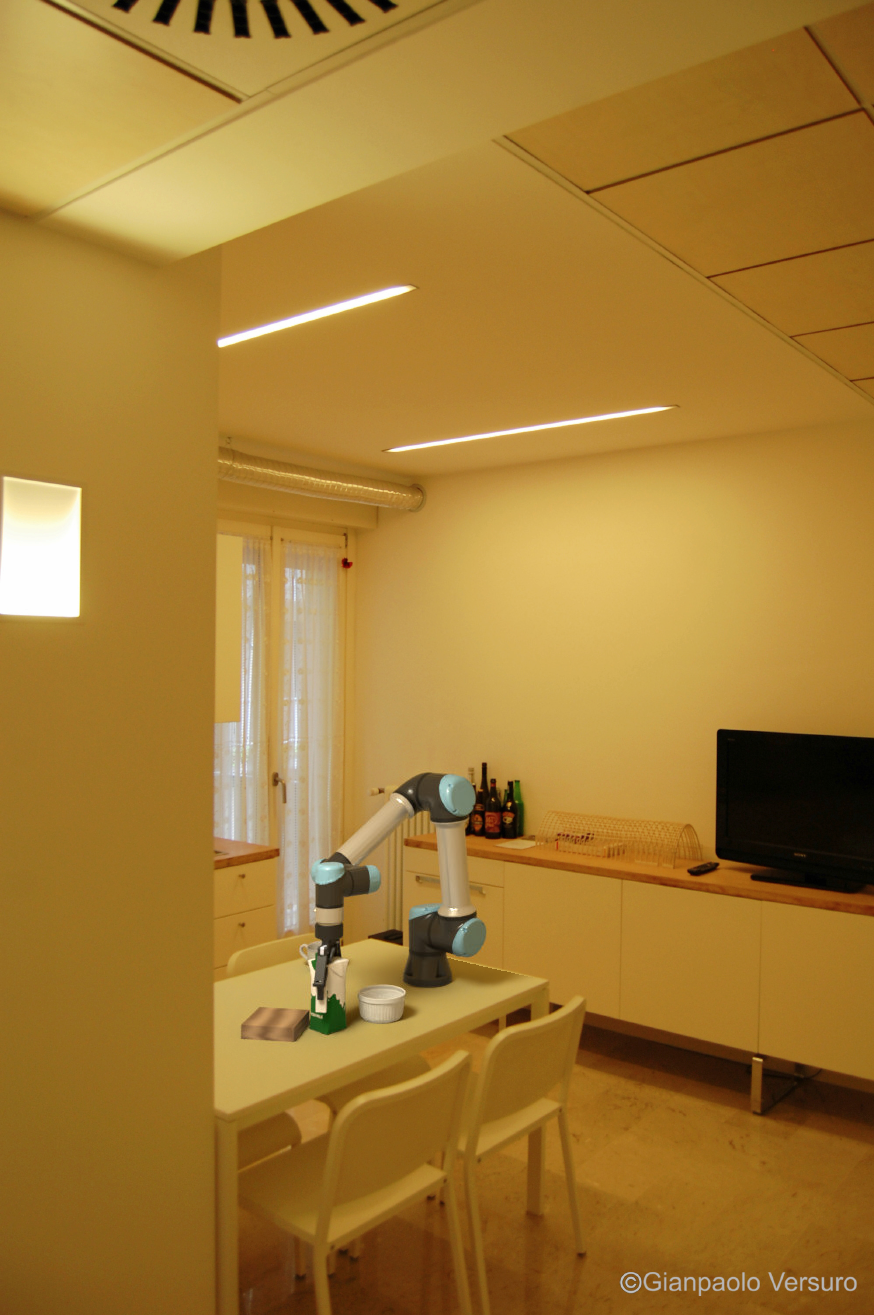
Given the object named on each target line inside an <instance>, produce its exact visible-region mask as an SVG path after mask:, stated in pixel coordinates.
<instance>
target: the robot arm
mask: <svg viewBox="0 0 874 1315" xmlns="http://www.w3.org/2000/svg"><path fill="white" fill-rule="evenodd" d="M476 801H477V800H476V790H475V788H474V786H473V785H472V783H471V781H470V780H468V778H466V777H464V776H462V775H458V774H454V773H441V772H440V773H438V772H430V771H429V772H427V771H426V772H422V773H419V774H416V775H414V776H413V777H411V778H409V779H407V780H406V781H404V783H402V784H401V785H399V786H398V787H397V788H395V790H393V792H392V793H390V795H389V796H388V801H387V802H386V803H385V804H384V805H383V806H382V807H381V808H380V809H379V810H377V811H376V813H375V814H373V815H372V816H371V817H370V819H368V820H367V821H366V822H365V823H364V824H363V825H362V826H361V827H360V828H359V829H358V830H357V831H356V832H355V833H354V834H352V835H351V836H350V837H349V838H348V840H346V841H345V842H344V843H343V844H342V845H341V846H340V847H339V848H338V849H337V850H336V851H335V852H333V854H332V855H330V856H329V857H328V858H320V859H317V860H315V862H313V864H312V866H311V869H310V876H311V877H310V878H311V880H312V881H313V882H314V884H315V885H314V887H315V888H314V889H315V890H314V892H315V893H314V894H315V900H314V903H315V904H314V905H315V908H314V909H313V912H312V913H315V914H314V915H315V916H314V917H315V918H314V921H315V922H316V923H314V937H315V938H316V939H317V940H319V941H322V944H321V945H320V946H318V948H317V950H318V951H317V962H316V969H315V977H314V983H313V987H316V1012H322V1013H326V1012H327V986H326V981H327V976H328V966H327V967H326V965H329V964H330V963H331V962H332V959H333V957H341V958H343V957H342V948H341V947H340V945H341V940H340V939H342V938H343V936H344V923H343V921H344V919H345V917H344V916H345V914H344V912H345V909H344V908H345V907H344V906H345V898H348V897H355V896H362V895H369V894H372V893H375V892H378V890H379V889H380V887H381V885H382V876H381V875H382V874H381V872H380V870H379V869H378V867H377V866H375V865H374V864H369V865H368V864H364V865H361V864H362V863H363V862H364V861H366V859H367V858H368V857H369V856H370V855H371V854H372V853H373V852H375V850H377V849H378V848H379V846H380V845H381V844H382V843H384V842H385V840H387V839H388V838H389V836H391V835H392V834H393V833H394V832H395V831H396V830H397V829H398V828H399V827H400V826H401V825H402V824H403V823H404V822H405V821H406V820H412V819H413V818H414V817H415V816H416V815H417V814H419V813H422V812H429V822H430V823H431V824H432V825H433V826H434V827H435V832H436V835H435V836H436V846H437V847H436V848H437V858H438V867H439V871H438V872H439V884H440V893H441V894H440V895H441V903H440V902H439V903H438V902H434V903H433V902H431V903H423V904H418V905H414V906H412V907H410V909H409V911H408V913H409V914H408V920H407V921H408V956H407V959H406V962H405V965H404V969H403V972H402V980H403V983H404V984H406V985H409V986H413V987H419V988H437V987H442V986H447V985H449V984H451V983H452V981H453V971H452V969H451V966H450V963H449V959H448V955H447V954H451V955H454V956H455V957H463V958H471V957H474V956H476V955H477V954H478V953H479V952H480V951H481V949H482V947H483V946H484V944H485V942H486V939H487V938H486V937H487V927H486V924H485V922H483V920H482V919H481V918H478V913H477V907H476V906H475V905H474V904H473V903H472V902H471V890H470V888H471V887H470V876H469V864H468V851H467V841H466V837H467V836H466V829H465V828H466V827H465V825H466V823H467V822H468V820H470V813H472V811H473V810H474V806H475V805H476ZM321 955H323V956H321ZM327 956H328V957H329V958H327ZM319 981H321V982H319Z"/></svg>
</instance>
